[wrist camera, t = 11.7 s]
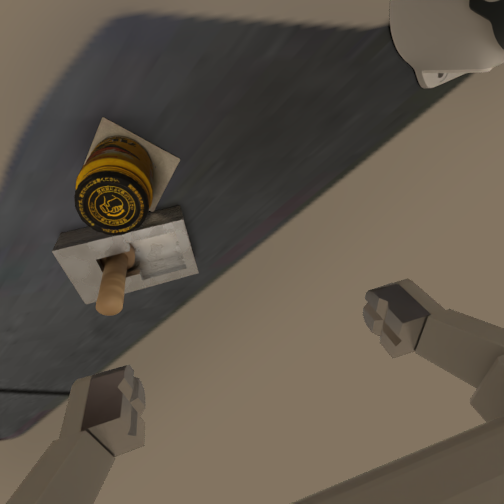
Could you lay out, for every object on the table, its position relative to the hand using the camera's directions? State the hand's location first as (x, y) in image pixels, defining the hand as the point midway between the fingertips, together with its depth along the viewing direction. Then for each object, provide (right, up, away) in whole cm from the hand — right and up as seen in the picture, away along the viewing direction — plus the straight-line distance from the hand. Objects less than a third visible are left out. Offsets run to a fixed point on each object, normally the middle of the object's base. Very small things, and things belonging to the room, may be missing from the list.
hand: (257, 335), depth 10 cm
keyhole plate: (-15, +4, +27) cm, 32 cm away
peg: (-17, +3, +27) cm, 32 cm away
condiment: (-14, +12, +23) cm, 29 cm away
